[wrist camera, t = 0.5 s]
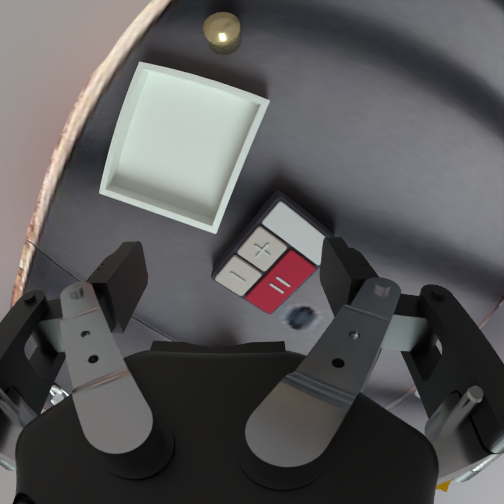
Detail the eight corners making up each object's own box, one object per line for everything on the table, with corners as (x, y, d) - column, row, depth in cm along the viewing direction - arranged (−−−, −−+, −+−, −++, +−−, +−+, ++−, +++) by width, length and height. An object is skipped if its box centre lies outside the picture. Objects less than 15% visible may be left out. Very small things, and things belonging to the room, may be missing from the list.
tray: (148, 66, 29) (139, 61, 26) (267, 103, 32) (270, 100, 29) (109, 187, 36) (99, 193, 33) (218, 224, 39) (215, 234, 36)
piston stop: (216, 25, 27) (211, 8, 22) (245, 33, 28) (246, 17, 22) (204, 49, 29) (197, 36, 23) (233, 58, 29) (231, 45, 24)
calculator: (208, 280, 39) (280, 196, 33) (212, 265, 42) (277, 187, 37) (270, 318, 42) (342, 247, 36) (269, 301, 46) (334, 234, 40)
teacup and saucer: (52, 379, 55) (46, 389, 51) (75, 396, 57) (71, 406, 54) (46, 389, 57) (41, 399, 54) (68, 404, 60) (64, 414, 56)
